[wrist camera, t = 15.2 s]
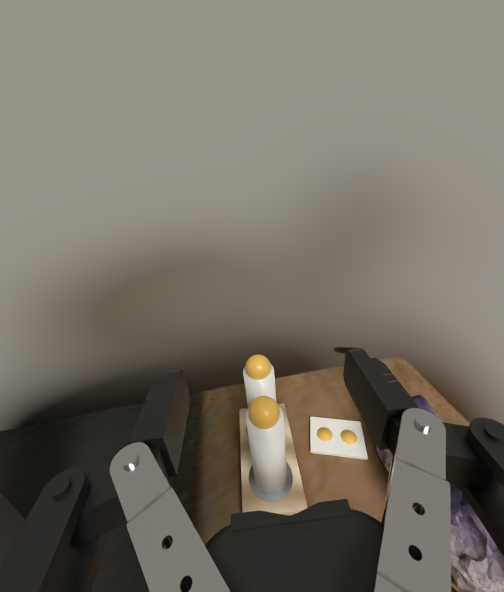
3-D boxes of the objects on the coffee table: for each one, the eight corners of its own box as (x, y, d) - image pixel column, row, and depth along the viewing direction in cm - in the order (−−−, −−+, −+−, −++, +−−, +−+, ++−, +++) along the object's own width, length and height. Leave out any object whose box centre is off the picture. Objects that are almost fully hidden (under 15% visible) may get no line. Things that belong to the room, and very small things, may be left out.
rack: (307, 514, 32) (307, 508, 32) (243, 522, 32) (242, 517, 32) (284, 408, 47) (284, 403, 46) (240, 413, 47) (239, 408, 46)
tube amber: (249, 486, 35) (236, 410, 28) (262, 455, 38) (253, 382, 32) (280, 501, 33) (273, 423, 26) (291, 467, 36) (288, 392, 30)
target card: (310, 452, 39) (310, 450, 39) (310, 418, 44) (310, 416, 44) (367, 459, 37) (367, 457, 37) (360, 423, 43) (360, 421, 42)
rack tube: (246, 434, 41) (235, 364, 35) (257, 412, 45) (249, 345, 39) (271, 444, 40) (265, 372, 33) (281, 421, 43) (277, 351, 37)
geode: (343, 434, 42) (354, 384, 38) (404, 422, 44) (421, 374, 40) (465, 629, 23) (511, 569, 19) (558, 589, 26) (615, 530, 22)
